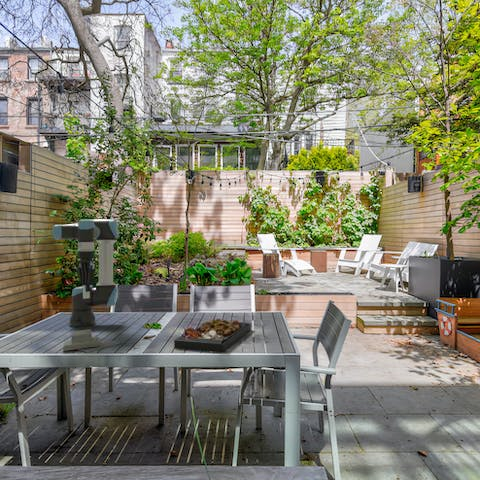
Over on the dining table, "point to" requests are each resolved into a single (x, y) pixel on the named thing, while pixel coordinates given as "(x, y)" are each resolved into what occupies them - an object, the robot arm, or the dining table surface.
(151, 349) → the dining table surface
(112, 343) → the mat
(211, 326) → the food platter
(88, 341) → the digital clock
